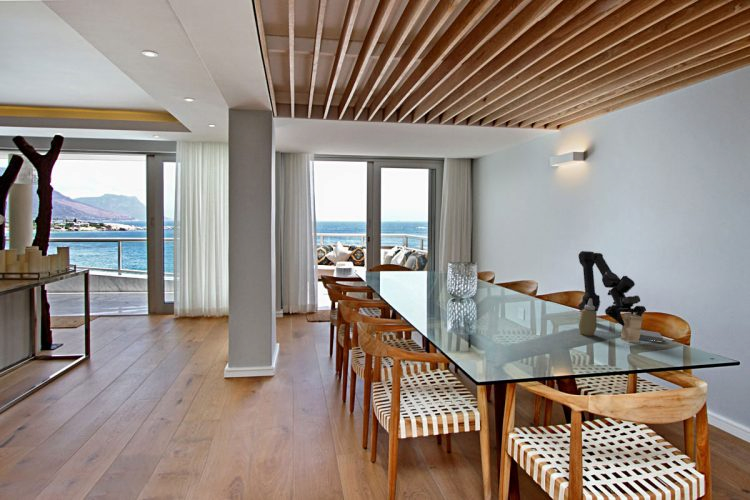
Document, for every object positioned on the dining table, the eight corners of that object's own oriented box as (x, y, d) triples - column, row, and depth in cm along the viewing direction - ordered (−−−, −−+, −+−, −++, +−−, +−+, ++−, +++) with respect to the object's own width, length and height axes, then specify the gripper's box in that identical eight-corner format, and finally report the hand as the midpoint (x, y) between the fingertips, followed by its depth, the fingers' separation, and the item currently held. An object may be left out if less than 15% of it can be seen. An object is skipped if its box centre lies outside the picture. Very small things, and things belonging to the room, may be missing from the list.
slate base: (636, 339, 221) (637, 334, 221) (633, 333, 231) (634, 328, 231) (662, 343, 217) (663, 338, 216) (658, 337, 227) (659, 332, 226)
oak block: (620, 338, 219) (623, 313, 218) (630, 339, 220) (634, 314, 219) (628, 342, 214) (632, 316, 213) (638, 342, 215) (642, 317, 213)
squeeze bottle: (595, 333, 225) (599, 298, 223) (595, 337, 218) (600, 301, 216) (577, 330, 229) (581, 296, 227) (577, 334, 222) (581, 298, 220)
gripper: (611, 288, 218) (624, 316, 208) (646, 289, 221) (660, 317, 211) (599, 301, 226) (611, 328, 217) (632, 302, 229) (645, 329, 220)
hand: (632, 325), depth 216 cm, fingers open, 9 cm apart
